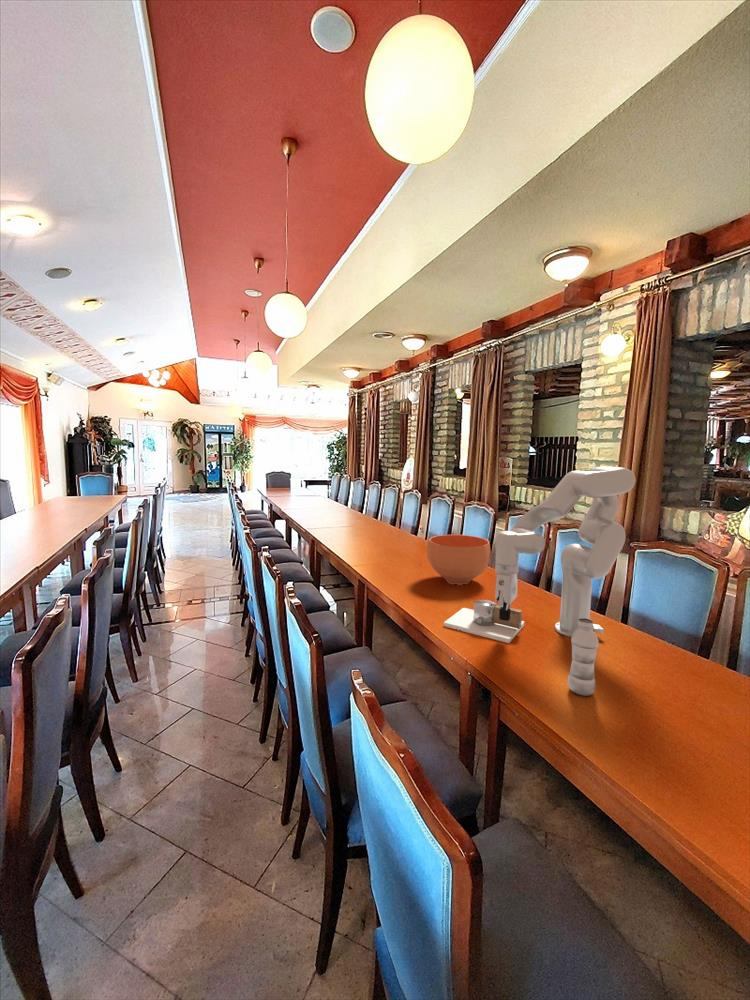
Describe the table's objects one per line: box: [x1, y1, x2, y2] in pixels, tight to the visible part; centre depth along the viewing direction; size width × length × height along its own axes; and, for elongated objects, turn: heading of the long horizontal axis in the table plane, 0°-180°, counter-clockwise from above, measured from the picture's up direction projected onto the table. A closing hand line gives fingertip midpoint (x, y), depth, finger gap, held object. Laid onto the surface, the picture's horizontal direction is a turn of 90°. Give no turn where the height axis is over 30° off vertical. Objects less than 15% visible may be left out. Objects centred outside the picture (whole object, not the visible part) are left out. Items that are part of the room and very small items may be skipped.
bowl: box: [426, 534, 492, 586], centre depth 210 cm, size 30×30×20 cm
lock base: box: [443, 607, 525, 644], centre depth 158 cm, size 24×18×2 cm
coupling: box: [473, 599, 523, 629], centre depth 155 cm, size 17×10×7 cm, turn 55°
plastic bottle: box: [567, 618, 600, 696], centre depth 114 cm, size 6×7×20 cm
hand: (504, 619), depth 148 cm, fingers closed
